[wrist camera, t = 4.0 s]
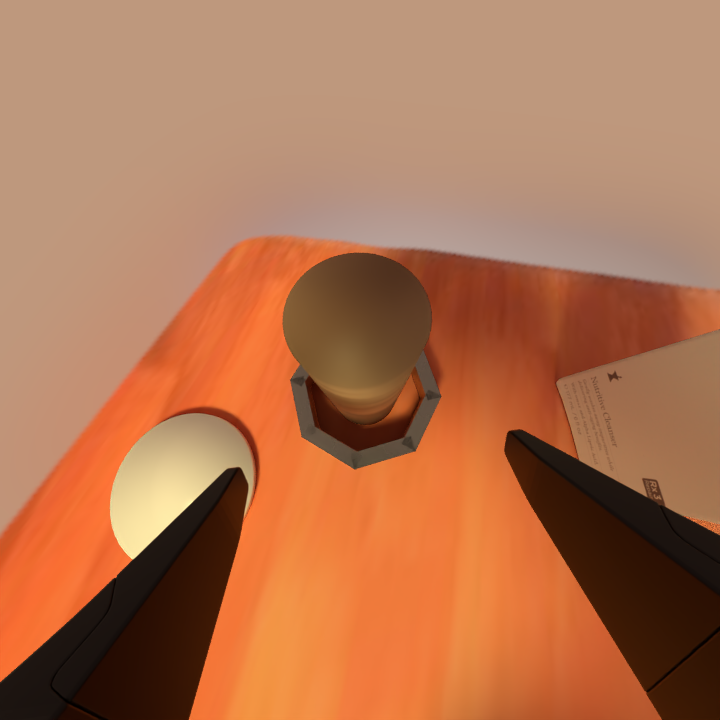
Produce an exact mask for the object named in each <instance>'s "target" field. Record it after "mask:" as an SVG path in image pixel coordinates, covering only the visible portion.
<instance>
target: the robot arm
mask: <svg viewBox="0 0 720 720" xmlns="http://www.w3.org/2000/svg"><path fill="white" fill-rule="evenodd" d="M504 451H505V455H506V457H507V459H508V461H509V463H510V465H511V467H512V470H513V472H514V474H515V476H516V478H517V480H518V482H519V484H520V486H521V488H522V490H523V492H524V494H525V496H526V498H527V500H528V502H529V503H530V505H531V507H532V508H533V510H534V512H535V513H536V515H537V516H538V518H539V520H540V521H541V523H542V525H543V526H544V528H545V529H546V531H547V533H548V534H549V536H550V538H551V539H552V541H553V542H554V544H555V546H556V547H557V549H558V551H559V552H560V554H561V555H562V557H563V559H564V560H565V562H566V564H567V565H568V567H569V568H570V570H571V572H572V573H573V575H574V577H575V578H576V580H577V581H578V583H579V585H580V586H581V588H582V590H583V591H584V593H585V594H586V596H587V598H588V599H589V601H590V603H591V604H592V606H593V608H594V609H595V611H596V612H597V614H598V616H599V617H600V619H601V621H602V622H603V624H604V625H605V627H606V629H607V630H608V632H609V634H610V635H611V637H612V638H613V640H614V642H615V643H616V645H617V647H618V648H619V650H620V651H621V653H622V655H623V656H624V658H625V660H626V661H627V663H628V664H629V666H630V668H631V669H632V671H633V673H634V674H635V676H636V677H637V679H638V681H639V682H640V684H641V686H642V687H643V689H644V690H645V691H646V692H647V696H648V697H649V699H650V701H651V702H652V704H653V706H654V707H655V709H656V710H657V712H658V714H659V715H660V717H661V719H662V720H720V535H718V534H716V533H714V532H712V531H710V530H709V529H707V528H705V527H703V526H701V525H699V524H697V523H695V522H693V521H691V520H689V519H687V518H686V517H684V516H682V515H680V514H678V513H676V512H674V511H672V510H671V509H669V508H667V507H665V506H663V505H659V504H658V503H657V502H656V501H654V500H652V499H650V498H648V497H646V496H644V495H643V494H641V493H639V492H637V491H635V490H633V489H631V488H629V487H628V486H626V485H624V484H622V483H620V482H618V481H616V480H615V479H613V478H611V477H609V476H607V475H605V474H603V473H602V472H600V471H598V470H596V469H594V468H592V467H590V466H589V465H587V464H585V463H583V462H581V461H579V460H577V459H576V458H574V457H572V456H570V455H568V454H566V453H564V452H563V451H561V450H559V449H557V448H555V447H553V446H551V445H550V444H548V443H546V442H544V441H542V440H540V439H538V438H537V437H535V436H533V435H531V434H529V433H527V432H525V431H523V430H520V429H518V430H511V431H508V433H507V436H506V442H505V448H504ZM248 490H249V485H248V482H247V479H246V477H245V475H244V473H243V470H242V469H241V468H240V467H233V468H228V469H226V470H225V471H224V472H223V473H222V474H221V475H220V476H219V477H218V478H217V479H216V480H215V481H214V482H212V483H211V484H210V485H209V486H208V487H207V488H206V489H205V490H204V491H203V492H202V493H201V494H200V495H199V496H198V497H197V498H196V499H195V500H194V501H193V502H192V503H191V504H190V505H189V506H188V507H187V508H186V509H185V510H184V511H183V512H182V513H181V514H180V515H179V516H177V517H176V518H175V519H174V520H173V521H172V522H171V523H170V524H169V525H168V526H167V527H166V528H165V529H164V530H163V531H162V532H161V533H160V534H159V535H158V536H157V537H156V538H155V539H154V540H153V541H152V542H151V543H150V544H149V545H148V546H147V547H146V548H145V549H144V550H142V551H141V552H140V553H139V554H138V555H137V556H136V557H135V558H134V559H133V560H132V561H131V562H130V563H129V564H128V565H127V566H126V567H125V568H124V569H123V570H122V571H121V572H120V573H119V574H118V575H117V577H116V578H114V579H113V580H111V581H110V582H109V583H108V584H107V585H106V586H105V587H104V588H103V589H102V590H101V591H100V592H99V593H98V594H97V595H96V596H95V597H94V598H93V599H92V600H91V601H90V602H89V603H88V604H86V605H85V606H84V607H83V608H82V609H81V610H80V611H79V612H78V613H77V614H76V615H75V616H74V617H73V618H72V619H71V620H69V621H68V622H67V623H66V624H65V625H64V626H63V627H62V628H61V629H60V630H58V631H57V632H56V633H55V634H54V635H53V636H52V637H51V638H50V639H48V640H47V641H46V642H45V643H44V644H43V645H42V646H41V647H40V648H38V649H37V650H36V651H35V652H34V653H33V654H32V655H31V656H29V657H28V658H27V659H26V660H25V661H24V662H23V663H21V664H20V665H19V666H18V667H17V668H16V669H15V670H14V671H12V672H11V673H10V674H9V675H8V676H7V677H6V678H5V679H3V680H2V681H1V682H0V720H189V717H190V714H191V710H192V707H193V703H194V699H195V696H196V692H197V689H198V685H199V682H200V678H201V675H202V671H203V668H204V664H205V660H206V657H207V653H208V650H209V646H210V643H211V639H212V636H213V632H214V629H215V625H216V621H217V618H218V614H219V611H220V607H221V604H222V600H223V597H224V593H225V590H226V586H227V583H228V579H229V575H230V572H231V568H232V565H233V561H234V558H235V554H236V551H237V547H238V543H239V539H240V535H241V530H242V524H243V518H244V513H245V507H246V502H247V496H248Z"/></svg>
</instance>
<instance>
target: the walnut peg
mask: <svg viewBox="0 0 720 720" xmlns="http://www.w3.org/2000/svg"><path fill="white" fill-rule="evenodd" d="M431 323H432V312H431V306H430V302H429V299H428V296H427V294H426V292H425V290H424V288H423V286H422V285H421V283H420V282H419V280H418V279H417V278H416V277H415V276H414V275H413V274H412V273H411V272H410V271H409V270H408V269H407V268H405V267H404V266H402V265H401V264H399V263H397V262H395V261H393V260H391V259H389V258H386V257H383V256H380V255H375V254H369V253H348V254H343V255H338V256H335V257H332V258H329V259H327V260H324V261H322V262H320V263H318V264H317V265H315V266H313V267H312V268H311V269H309V270H308V271H307V272H306V273H305V274H304V275H303V276H302V277H301V278H300V279H299V280H298V281H297V282H296V284H295V285H294V287H293V288H292V290H291V291H290V293H289V296H288V298H287V300H286V304H285V307H284V312H283V330H284V336H285V339H286V342H287V345H288V347H289V349H290V351H291V353H292V354H293V356H294V357H295V359H296V360H297V361H298V362H299V363H300V365H301V366H302V367H303V368H304V369H305V371H306V372H307V373H308V374H309V376H310V377H311V378H312V379H313V380H314V382H315V383H316V384H317V385H318V386H319V388H320V389H321V390H322V391H323V392H324V394H325V395H326V396H327V397H328V398H329V400H330V401H331V402H332V403H333V404H334V406H335V407H336V408H337V409H338V411H339V412H340V413H341V414H342V415H343V416H344V417H345V418H346V419H347V420H349V421H351V422H353V423H356V424H360V425H370V424H374V423H377V422H379V421H381V420H382V419H384V418H385V417H386V416H387V415H388V414H389V413H390V411H391V410H392V408H393V406H394V404H395V402H396V400H397V398H398V397H399V395H400V393H401V391H402V389H403V387H404V385H405V383H406V381H407V380H408V378H409V376H410V374H411V372H412V370H413V368H414V366H415V364H416V363H417V361H418V359H419V357H420V355H421V353H422V351H423V349H424V347H425V345H426V343H427V341H428V338H429V334H430V331H431Z"/></svg>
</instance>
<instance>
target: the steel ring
mask: <svg viewBox="0 0 720 720" xmlns="http://www.w3.org/2000/svg"><path fill="white" fill-rule="evenodd" d="M411 374H412V377H413V380H414V383H415V386H416V388H417V391H418V394H419V397H420V402H419V404H418V406H417V408H416V410H415V412H414V414H413V416H412V418H411V420H410V422H409V424H408V426H407V428H406V430H405V432H404V434H403V436H402V438H401V439H398V440H395V441H391V442H388V443H385V444H381V445H378V446H374V447H371V448H368V449H364V450H361V451H356V450H355V449H353V448H351V447H350V446H348V445H346V444H345V443H343V442H341V441H340V440H338V439H336V438H335V437H333V436H331V435H330V434H328V433H326V432H324V431H323V430H321V429H320V426H319V422H318V418H317V413H316V409H315V404H314V400H313V395H312V391H311V386H312V385H313V383H314V380H313V379H312V378H311V377H310V376H309V374H308V373H307V372H306V371H305V369H304V368H303V367H302V366H301V365H300V366H299V367H298V369H297V370H296V372H295V373H294V375H293V376H292V378H291V379H290V381H291V386H292V391H293V396H294V401H295V406H296V411H297V416H298V421H299V425H300V430H301V435H302V436H301V437H303V438H304V439H306V440H308V441H309V442H311V443H313V444H314V445H316V446H317V447H319V448H321V449H322V450H324V451H326V452H327V453H329V454H331V455H332V456H334V457H335V458H337V459H339V460H340V461H342V462H344V463H345V464H347V465H349V466H350V467H352V468H353V469H357V468H361V467H364V466H367V465H371V464H374V463H377V462H381V461H384V460H387V459H391V458H394V457H397V456H401V455H404V454H407V453H411V452H414V451H416V449H417V447H418V445H419V443H420V440H421V438H422V436H423V434H424V432H425V430H426V428H427V426H428V424H429V421H430V419H431V417H432V415H433V413H434V411H435V409H436V407H437V405H438V402H439V400H440V398H441V394H440V392H439V389H438V387H437V384H436V381H435V379H434V376H433V374H432V371H431V368H430V366H429V363H428V360H427V358H426V355H425V353H424V350H423V351H422V353H421V355H420V357H419V359H418V361H417V363H416V364H415V366H414V368H413V370H412V372H411Z"/></svg>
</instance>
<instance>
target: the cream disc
mask: <svg viewBox="0 0 720 720" xmlns="http://www.w3.org/2000/svg"><path fill="white" fill-rule="evenodd" d="M233 467H240V468H241V469H242V470H243V473H244V475H245V477H246V479H247V482H248V485H249V490H248V496H247V502H246V507H245V513H244V518H243V521H244V519H245V517H246V515H247V513H248V511H249V508H250V506H251V503H252V500H253V496H254V491H255V485H256V465H255V460H254V455H253V452H252V449H251V447H250V445H249V443H248V441H247V439H246V438H245V436H244V435H243V434H242V432H241V431H240V430H239V429H238V428H237V427H235V426H234V425H233V424H231V423H230V422H228V421H226V420H225V419H222V418H220V417H217V416H213V415H208V414H201V413H191V414H184V415H179V416H176V417H173V418H170V419H168V420H166V421H164V422H161V423H160V424H158V425H157V426H155V427H153V428H152V429H151V430H149V431H148V432H147V433H146V434H144V435H143V436H142V437H141V438H140V439H139V440H138V441H137V442H136V444H135V445H134V446H133V447H132V448H131V450H130V451H129V452H128V454H127V455H126V457H125V458H124V460H123V462H122V464H121V466H120V468H119V470H118V472H117V475H116V477H115V481H114V484H113V488H112V493H111V500H110V517H111V523H112V528H113V531H114V534H115V537H116V539H117V541H118V543H119V544H120V546H121V547H122V549H123V550H124V551H125V553H126V554H127V555H128V556H129V557H130V558H132V559H134V558H135V557H136V556H137V555H138V554H139V553H140V552H141V551H142V550H144V549H145V548H146V547H147V546H148V545H149V544H150V543H151V542H152V541H153V540H154V539H155V538H156V537H157V536H158V535H159V534H160V533H161V532H162V531H163V530H164V529H165V528H166V527H167V526H168V525H169V524H170V523H171V522H172V521H173V520H174V519H175V518H176V517H177V516H179V515H180V514H181V513H182V512H183V511H184V510H185V509H186V508H187V507H188V506H189V505H190V504H191V503H192V502H193V501H194V500H195V499H196V498H197V497H198V496H199V495H200V494H201V493H202V492H203V491H204V490H205V489H206V488H207V487H208V486H209V485H210V484H211V483H212V482H214V481H215V480H216V479H217V478H218V477H219V476H220V475H221V474H222V473H223V472H224V471H225V470H226V469H228V468H233Z"/></svg>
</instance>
